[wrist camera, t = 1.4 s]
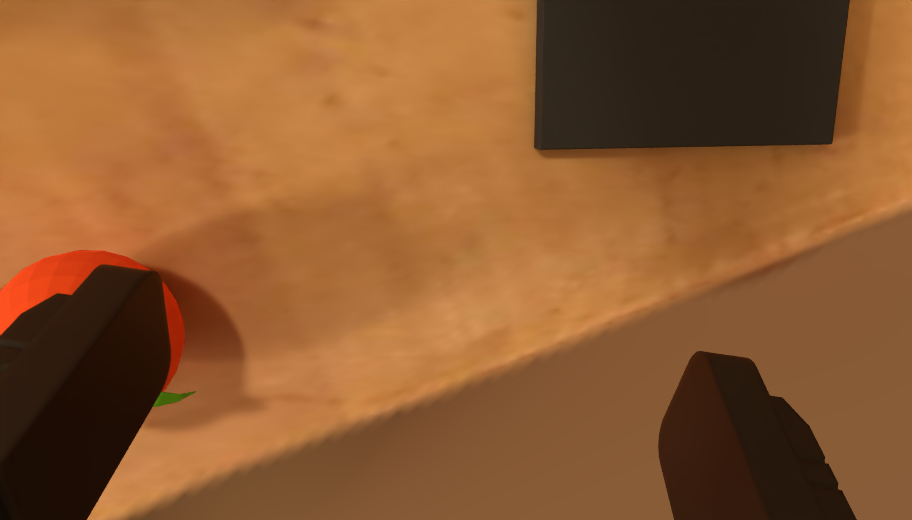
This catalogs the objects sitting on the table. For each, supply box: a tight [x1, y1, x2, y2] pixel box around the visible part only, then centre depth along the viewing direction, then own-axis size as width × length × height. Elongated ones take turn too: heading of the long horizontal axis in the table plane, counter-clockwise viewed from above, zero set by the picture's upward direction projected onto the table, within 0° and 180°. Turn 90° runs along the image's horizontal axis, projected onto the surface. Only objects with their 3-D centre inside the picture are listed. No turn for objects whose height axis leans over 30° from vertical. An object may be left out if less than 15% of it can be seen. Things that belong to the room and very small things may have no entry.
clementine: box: [0, 250, 196, 407], centre depth 26 cm, size 8×7×7 cm
